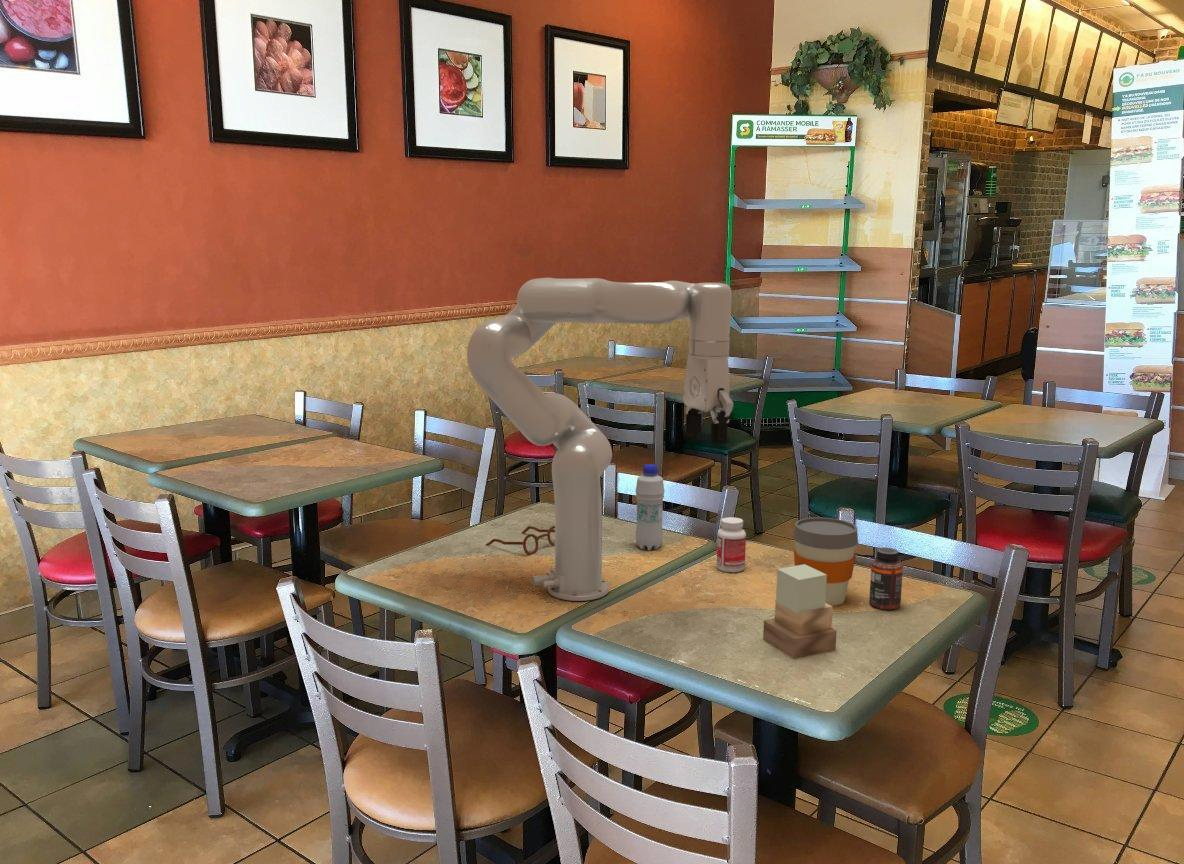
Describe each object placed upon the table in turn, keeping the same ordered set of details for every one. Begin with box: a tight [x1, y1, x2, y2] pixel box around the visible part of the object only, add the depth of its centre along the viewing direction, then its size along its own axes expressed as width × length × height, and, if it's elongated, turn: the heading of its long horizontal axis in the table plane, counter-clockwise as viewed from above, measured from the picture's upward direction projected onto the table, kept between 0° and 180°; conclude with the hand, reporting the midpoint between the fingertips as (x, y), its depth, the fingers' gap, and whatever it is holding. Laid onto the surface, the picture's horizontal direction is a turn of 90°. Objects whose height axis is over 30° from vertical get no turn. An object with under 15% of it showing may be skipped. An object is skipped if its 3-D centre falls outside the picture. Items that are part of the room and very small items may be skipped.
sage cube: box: [775, 564, 827, 613], centre depth 165 cm, size 6×6×6 cm
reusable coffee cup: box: [792, 517, 859, 607], centre depth 188 cm, size 13×13×15 cm
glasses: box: [485, 525, 555, 556], centre depth 222 cm, size 13×13×5 cm
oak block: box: [774, 600, 834, 635], centre depth 166 cm, size 7×7×4 cm
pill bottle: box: [716, 516, 747, 573], centre depth 205 cm, size 6×6×11 cm
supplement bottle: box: [868, 547, 904, 611], centre depth 184 cm, size 6×6×11 cm
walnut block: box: [762, 617, 838, 659], centre depth 167 cm, size 9×9×4 cm
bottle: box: [635, 463, 665, 551], centre depth 218 cm, size 7×7×20 cm
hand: (705, 438), depth 180 cm, fingers open, 9 cm apart
